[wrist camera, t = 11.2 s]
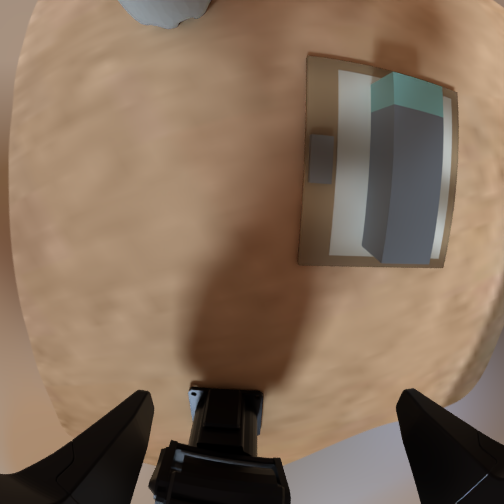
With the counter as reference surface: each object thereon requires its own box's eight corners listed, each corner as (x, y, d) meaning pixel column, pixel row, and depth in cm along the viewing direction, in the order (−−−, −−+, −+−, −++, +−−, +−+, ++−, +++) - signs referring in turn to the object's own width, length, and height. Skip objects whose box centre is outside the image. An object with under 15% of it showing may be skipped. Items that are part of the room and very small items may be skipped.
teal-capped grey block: (404, 247, 19) (429, 264, 16) (361, 246, 19) (381, 263, 15) (414, 95, 16) (442, 86, 12) (370, 84, 16) (393, 71, 12)
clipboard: (440, 265, 20) (447, 270, 19) (297, 262, 20) (299, 268, 19) (453, 93, 16) (461, 91, 15) (306, 58, 16) (309, 52, 15)
